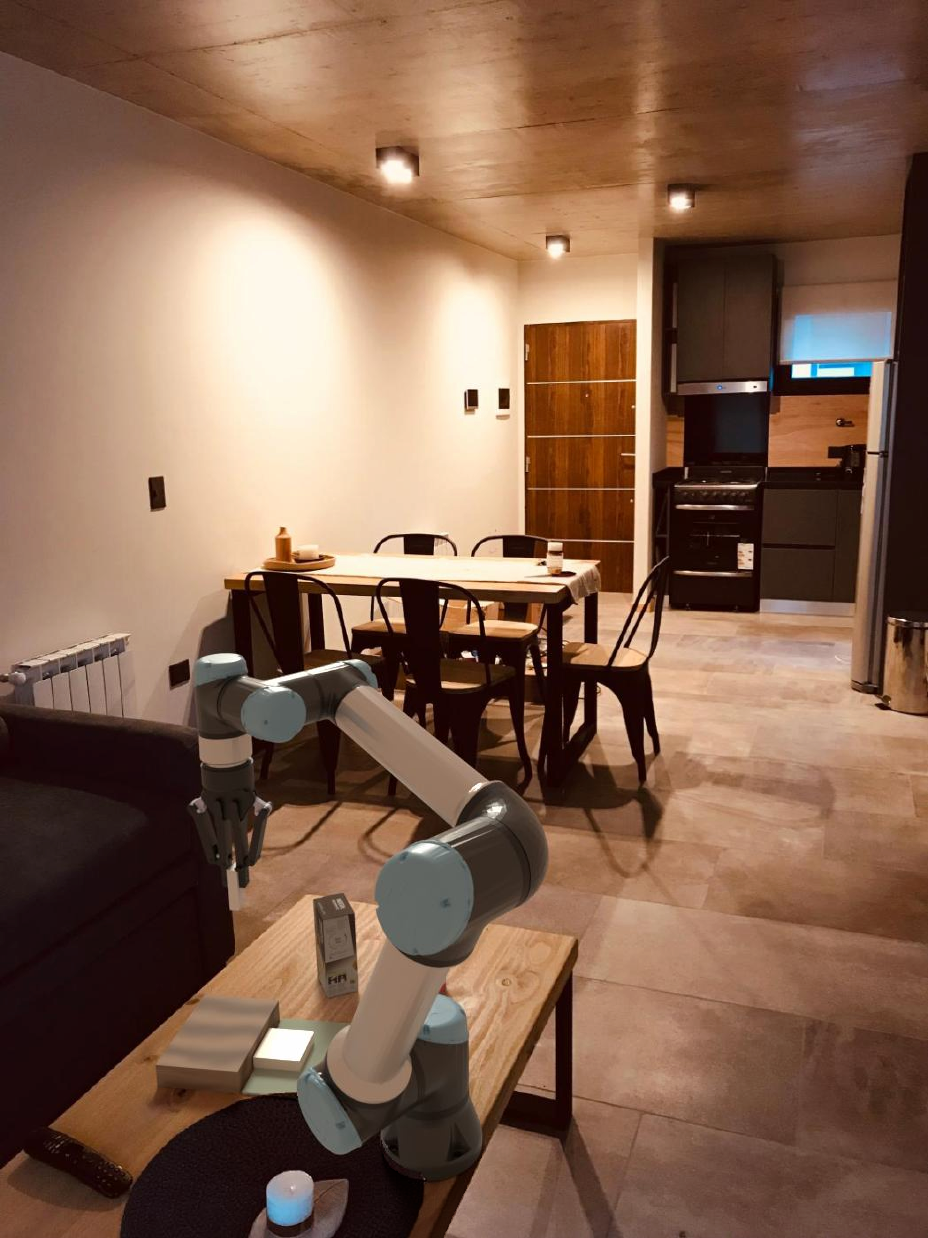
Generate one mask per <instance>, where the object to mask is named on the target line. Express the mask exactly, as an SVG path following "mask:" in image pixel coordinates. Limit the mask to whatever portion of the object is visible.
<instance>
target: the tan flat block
mask: <svg viewBox="0 0 928 1238" xmlns="http://www.w3.org/2000/svg"><path fill="white" fill-rule="evenodd" d="M193 1009H194V1010H192V1012H191V1014H190V1015H189V1016H188V1018H187V1019H186V1021H185V1022H184V1024H183V1025H182V1027H181V1028H180V1029H179V1031H178V1032H177V1033H176V1035H175V1036H174V1038H173V1039H172V1041H171V1042H170V1044H169V1045H168V1046H167V1047H166V1049H165V1051H164V1052H163V1054H162V1055H161V1056H160V1057H159V1059H158V1061H157V1062H156V1063H155V1073H156V1074H155V1075H156V1083H157V1087H160V1088H171V1089H172V1088H173V1089H185V1090H195V1091H202V1092H203V1091H204V1092H216V1093H217V1092H218V1093H226V1094H236V1093H239V1094H240V1093H241V1092H242V1091H243V1090H242V1089H244V1088H243V1087H245V1085H246V1083H247V1081H248V1080H249V1079H248V1078H250V1076H251V1074H252V1072H253V1071H254V1070H253V1069H255V1068H254V1064H253V1056H254V1054H255V1053H256V1051H257V1049H258V1047H259V1045H260V1044H261V1042H262V1040H263V1038H264V1037H265V1035H266V1033H267V1031H268V1029H269V1028H274V1029H277V1027H278V1026H279V1024H280V1022H281V1015H280V1014H281V1012H280V999H279V1000H278V999H269V998H258V997H257V998H256V997H246V996H245V997H244V996H230V995H229V996H228V995H220V994H218V995H216V994H204V995H203V996H202V997H201V999H200V1001H199V1002H198V1004H197V1005H196V1006H195V1008H193Z"/></svg>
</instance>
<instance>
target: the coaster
mask: <svg viewBox="0 0 928 1238" xmlns="http://www.w3.org/2000/svg"><path fill="white" fill-rule="evenodd" d="M313 1043H314V1032H312V1031H300V1030H287V1029H277V1028H275V1029H274V1028H269V1029H268V1031H267V1033H266V1035H265V1037H264V1038H263V1040H262V1042H261V1044H260V1045H259V1047H258V1049H257V1051H256V1053H255V1054H254V1056H253V1064H254V1068H253V1069H255V1068H263V1069H275V1070H287V1071H298V1072H300V1070H301V1068H302V1066H303V1064H304V1062H305V1060H306V1058H307V1056H308V1054H309V1052H310V1049H311V1047H312V1045H313Z"/></svg>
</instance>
